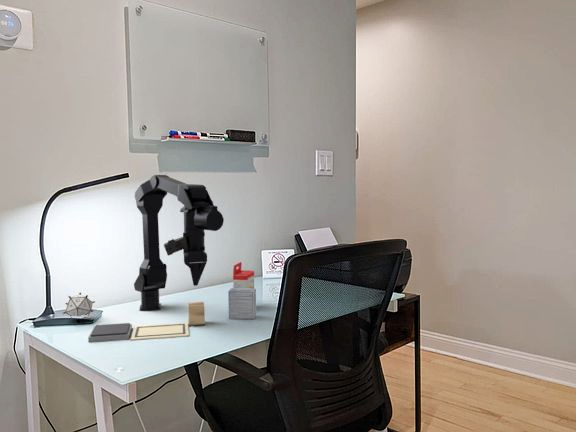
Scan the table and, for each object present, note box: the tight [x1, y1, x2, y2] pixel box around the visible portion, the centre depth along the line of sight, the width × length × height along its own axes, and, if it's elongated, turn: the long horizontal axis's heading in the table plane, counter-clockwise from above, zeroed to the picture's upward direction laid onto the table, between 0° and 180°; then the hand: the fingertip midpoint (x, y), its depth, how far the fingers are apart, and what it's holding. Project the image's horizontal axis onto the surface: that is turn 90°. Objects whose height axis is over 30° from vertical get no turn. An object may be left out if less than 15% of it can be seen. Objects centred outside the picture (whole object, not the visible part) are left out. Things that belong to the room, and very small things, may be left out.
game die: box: [62, 292, 96, 317], centre depth 147 cm, size 9×8×10 cm
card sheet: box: [129, 322, 190, 341], centre depth 136 cm, size 12×15×1 cm
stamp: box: [187, 301, 206, 328], centre depth 143 cm, size 4×4×6 cm
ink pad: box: [87, 322, 133, 343], centre depth 133 cm, size 10×10×2 cm
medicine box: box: [227, 287, 257, 320], centre depth 150 cm, size 8×4×9 cm, turn 84°
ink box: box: [232, 261, 255, 288], centre depth 161 cm, size 8×5×15 cm, turn 168°
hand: (195, 282), depth 142 cm, fingers open, 9 cm apart
